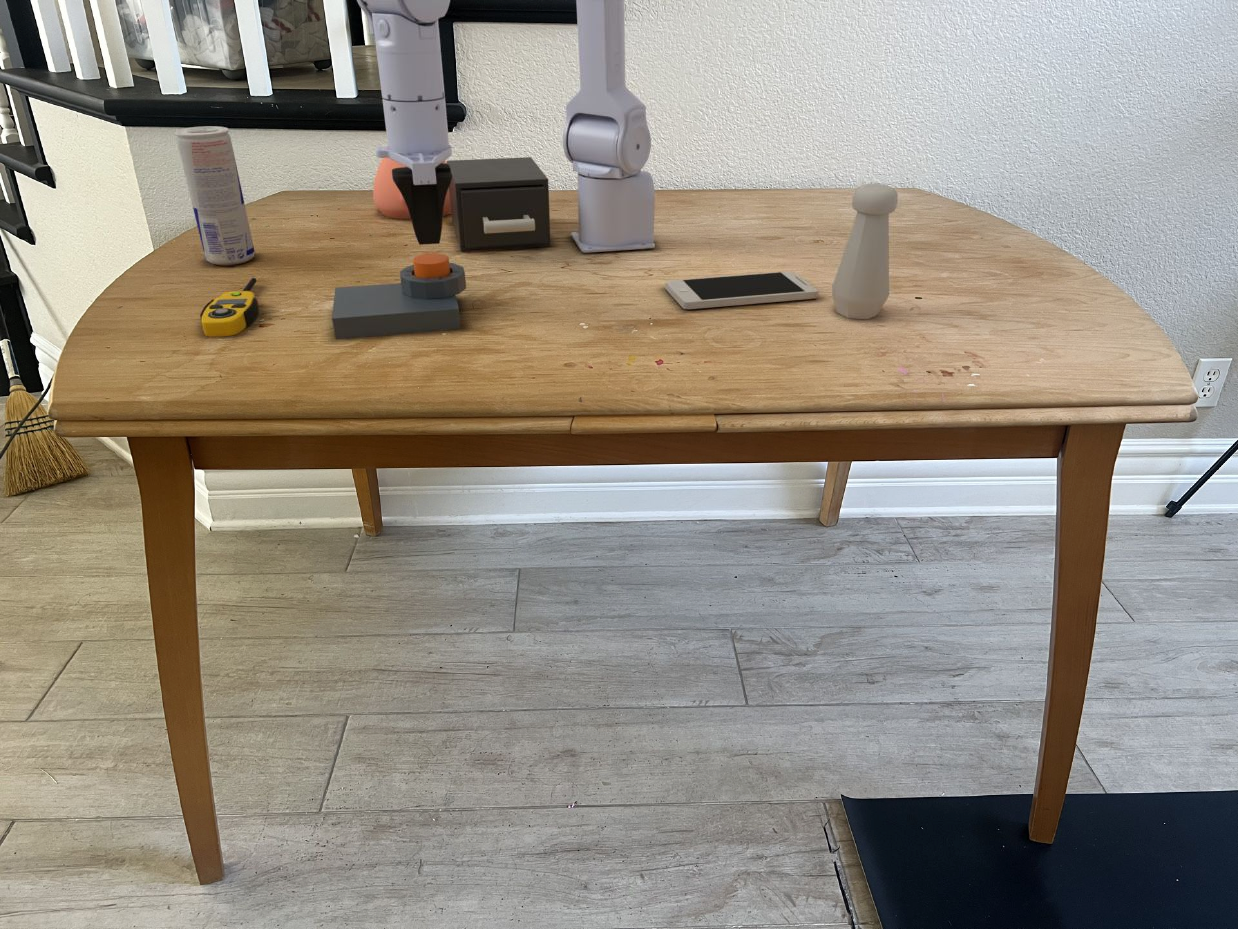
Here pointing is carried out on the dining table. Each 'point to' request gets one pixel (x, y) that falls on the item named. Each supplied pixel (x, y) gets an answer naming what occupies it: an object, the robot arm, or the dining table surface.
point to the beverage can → (216, 194)
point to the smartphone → (740, 290)
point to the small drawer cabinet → (493, 175)
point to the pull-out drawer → (504, 215)
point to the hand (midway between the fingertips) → (429, 242)
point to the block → (399, 305)
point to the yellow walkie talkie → (230, 312)
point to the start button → (431, 265)
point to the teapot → (394, 192)
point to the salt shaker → (866, 254)
